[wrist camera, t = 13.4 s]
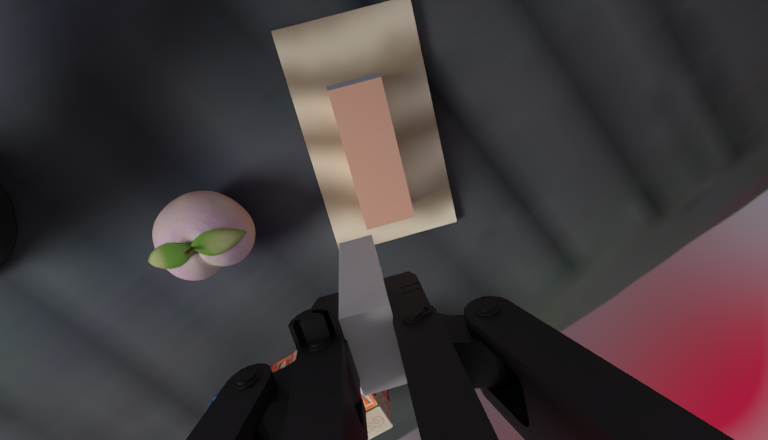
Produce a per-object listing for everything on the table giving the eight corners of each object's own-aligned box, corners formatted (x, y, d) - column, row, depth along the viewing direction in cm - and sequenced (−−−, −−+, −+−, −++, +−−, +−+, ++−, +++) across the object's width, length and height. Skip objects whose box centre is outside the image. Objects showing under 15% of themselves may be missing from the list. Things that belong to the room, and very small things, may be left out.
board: (272, 33, 38) (270, 31, 37) (408, -2, 38) (409, -5, 37) (340, 251, 45) (340, 254, 44) (454, 219, 45) (456, 221, 44)
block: (326, 86, 34) (366, 230, 38) (379, 72, 34) (414, 216, 38) (327, 89, 39) (364, 216, 43) (375, 77, 39) (406, 205, 43)
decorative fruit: (236, 167, 41) (204, 183, 31) (275, 231, 43) (257, 265, 34) (159, 207, 41) (104, 235, 32) (203, 268, 44) (164, 312, 34)
